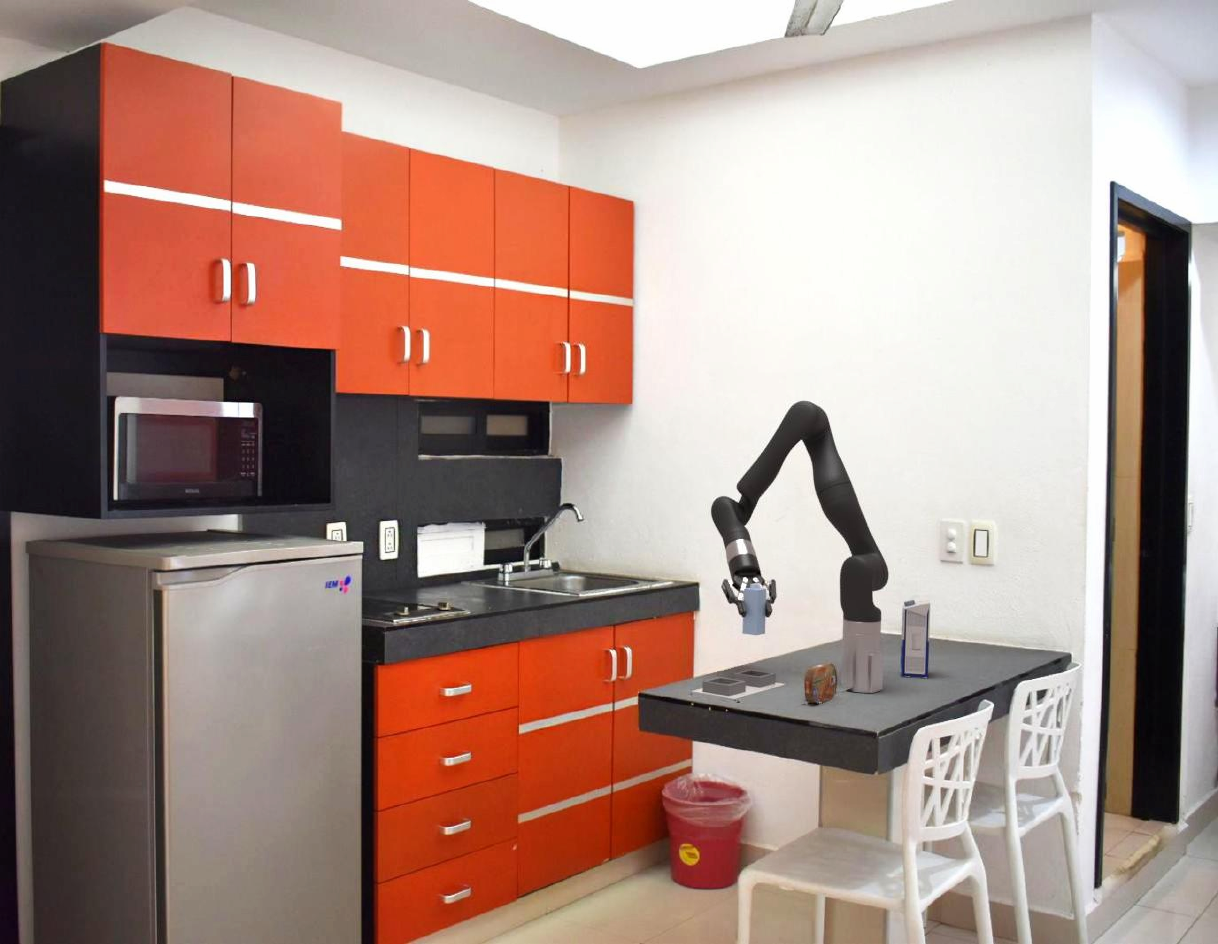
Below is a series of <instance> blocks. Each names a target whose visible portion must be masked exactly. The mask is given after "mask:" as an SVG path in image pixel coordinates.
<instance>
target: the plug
mask: <svg viewBox="0 0 1218 944" xmlns="http://www.w3.org/2000/svg"><path fill="white" fill-rule="evenodd" d="M766 593H767V588H764V589H762V588H760V584H757V583H755V584H751V585H750V588H745V589H744V596H743V599H742V601H744V603H745V607H746V611H747V614H746V616H745V617H742V632H741V633H742V634H744V635H749V636H751V635H752V636H760V635H766V615H765V609H766Z"/></svg>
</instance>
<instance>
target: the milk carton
mask: <svg viewBox="0 0 1218 944" xmlns="http://www.w3.org/2000/svg"><path fill="white" fill-rule="evenodd" d="M901 611H902V614H901V617H902V618H901V642H900V643H901V647H900V671H901V672H900V677H901V676H910V677H928V678H929V660H930V659H929V656H930V655H929V651H930V627H931V626H930V624H931V601H930V600H929V599H927V600H920V601H919V600H918V601H915V599H910V600H906V601H904V602H903V605H902V610H901ZM910 677H909V678H910Z"/></svg>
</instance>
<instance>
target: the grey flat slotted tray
mask: <svg viewBox="0 0 1218 944" xmlns="http://www.w3.org/2000/svg"><path fill="white" fill-rule="evenodd" d="M776 675H777V674H776V673H774V672H768V671H761V670H756V669H746V670H741V671H738V672H737V671H736V672H734V673H733V678H730V677H729V678H727V677H721V676H717V677H714V678H710V679H707V680H702V687H701V688H697V689H695V690H692V691H691V692H692V693H698V694H703V695H709V696H715V697H720V698H724V699H729V700H733V701H736V700H737V699H739V698H742V697H746V696H750V695H753V694H754V695H755V694H757V693H760V692H765V691H767V690H771V689H775V688H778V687H781V686H786V685H787V684H786V683H781V682H776Z"/></svg>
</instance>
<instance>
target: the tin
mask: <svg viewBox="0 0 1218 944" xmlns="http://www.w3.org/2000/svg"><path fill="white" fill-rule="evenodd" d="M803 680H804V681H803V682H804V683H803V684H804V687H803V688H804V697H805V698H804V699H805V700H806V701H808V702H812V703H811V704H814V703H817V705H819V704H818V703H819V702H824V703H826V702H827V700H828V701H830V700H832V699H833V698H834V697H835V694H836V693H837V688H838V675H837V668H836V666H835V664H833V663H831V662H830V663H820V664H817V665H815V666H812V667H809V668H808V669H807V670H806V672H805V674H804V679H803ZM831 698H832V699H831ZM829 699H830V700H829ZM825 701H826V702H825Z"/></svg>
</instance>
